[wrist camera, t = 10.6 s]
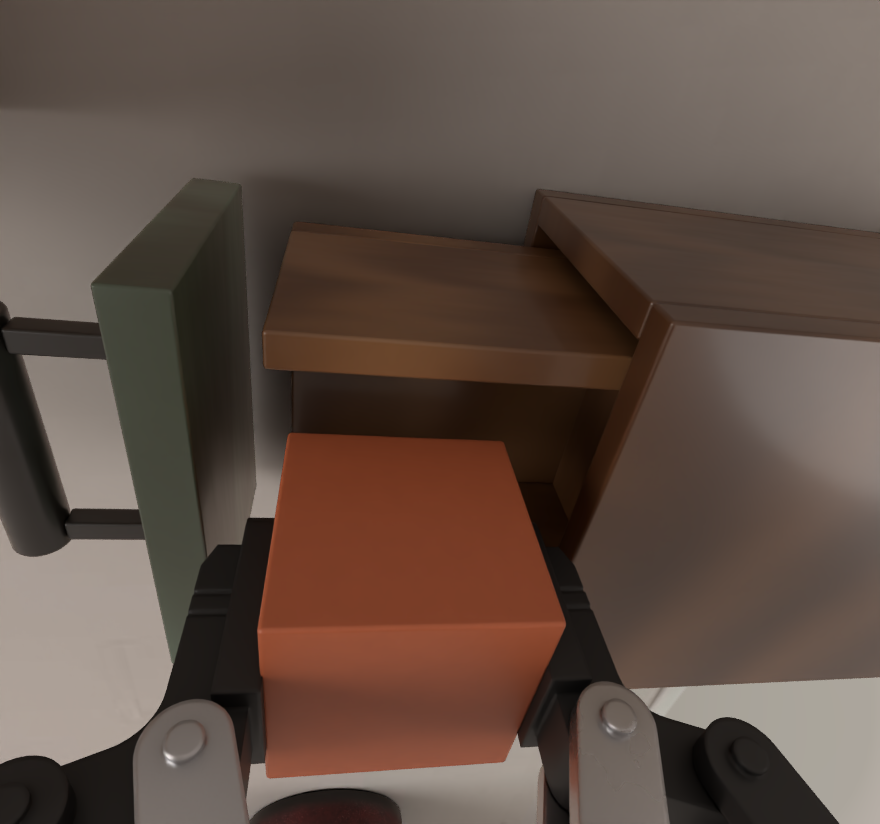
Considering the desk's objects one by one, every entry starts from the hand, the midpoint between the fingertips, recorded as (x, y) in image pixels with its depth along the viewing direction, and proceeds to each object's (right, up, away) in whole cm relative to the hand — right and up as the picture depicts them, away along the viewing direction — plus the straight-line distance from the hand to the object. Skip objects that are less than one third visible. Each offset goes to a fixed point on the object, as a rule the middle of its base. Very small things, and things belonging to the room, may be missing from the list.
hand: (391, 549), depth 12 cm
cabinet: (+10, +4, +9) cm, 14 cm away
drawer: (-2, +4, +6) cm, 7 cm away
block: (0, +1, +1) cm, 1 cm away
